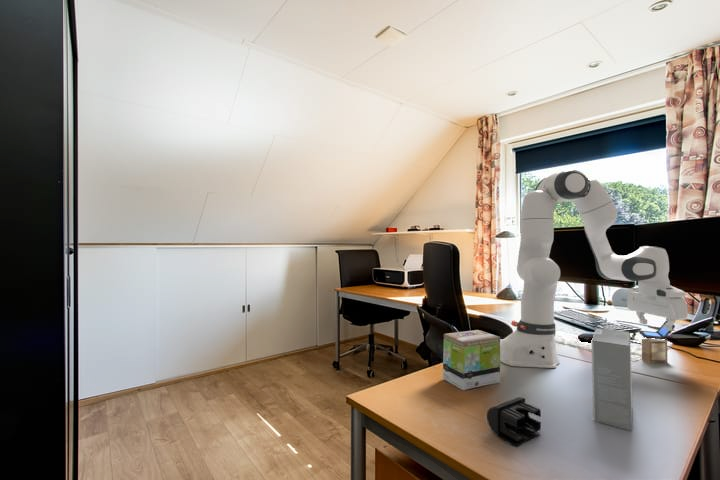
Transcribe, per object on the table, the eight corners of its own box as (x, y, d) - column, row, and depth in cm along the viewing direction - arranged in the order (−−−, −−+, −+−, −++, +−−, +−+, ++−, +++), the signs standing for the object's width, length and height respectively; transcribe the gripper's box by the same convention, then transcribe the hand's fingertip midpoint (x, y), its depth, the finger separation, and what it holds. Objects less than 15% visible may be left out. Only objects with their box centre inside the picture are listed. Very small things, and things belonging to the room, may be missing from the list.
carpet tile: (668, 351, 136) (668, 346, 136) (633, 364, 121) (633, 358, 121) (569, 330, 170) (569, 326, 170) (533, 337, 156) (533, 333, 156)
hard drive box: (596, 398, 92) (595, 327, 93) (632, 406, 87) (631, 331, 88) (592, 421, 80) (591, 339, 81) (632, 432, 75) (631, 345, 76)
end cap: (513, 420, 81) (513, 392, 81) (542, 435, 74) (541, 405, 75) (486, 432, 76) (486, 402, 76) (514, 448, 69) (514, 416, 70)
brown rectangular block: (649, 363, 120) (649, 341, 120) (642, 360, 123) (641, 339, 123) (667, 363, 120) (667, 341, 121) (659, 360, 124) (659, 338, 124)
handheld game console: (638, 332, 164) (638, 317, 164) (667, 335, 158) (667, 320, 158) (644, 338, 153) (644, 322, 153) (676, 342, 148) (675, 325, 148)
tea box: (464, 392, 96) (464, 341, 97) (442, 379, 105) (442, 333, 106) (501, 383, 103) (501, 335, 103) (477, 371, 112) (477, 328, 112)
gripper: (621, 286, 133) (623, 321, 132) (673, 293, 112) (674, 334, 112) (636, 286, 133) (637, 320, 133) (690, 293, 113) (692, 333, 112)
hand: (655, 326), depth 122 cm, fingers open, 8 cm apart
